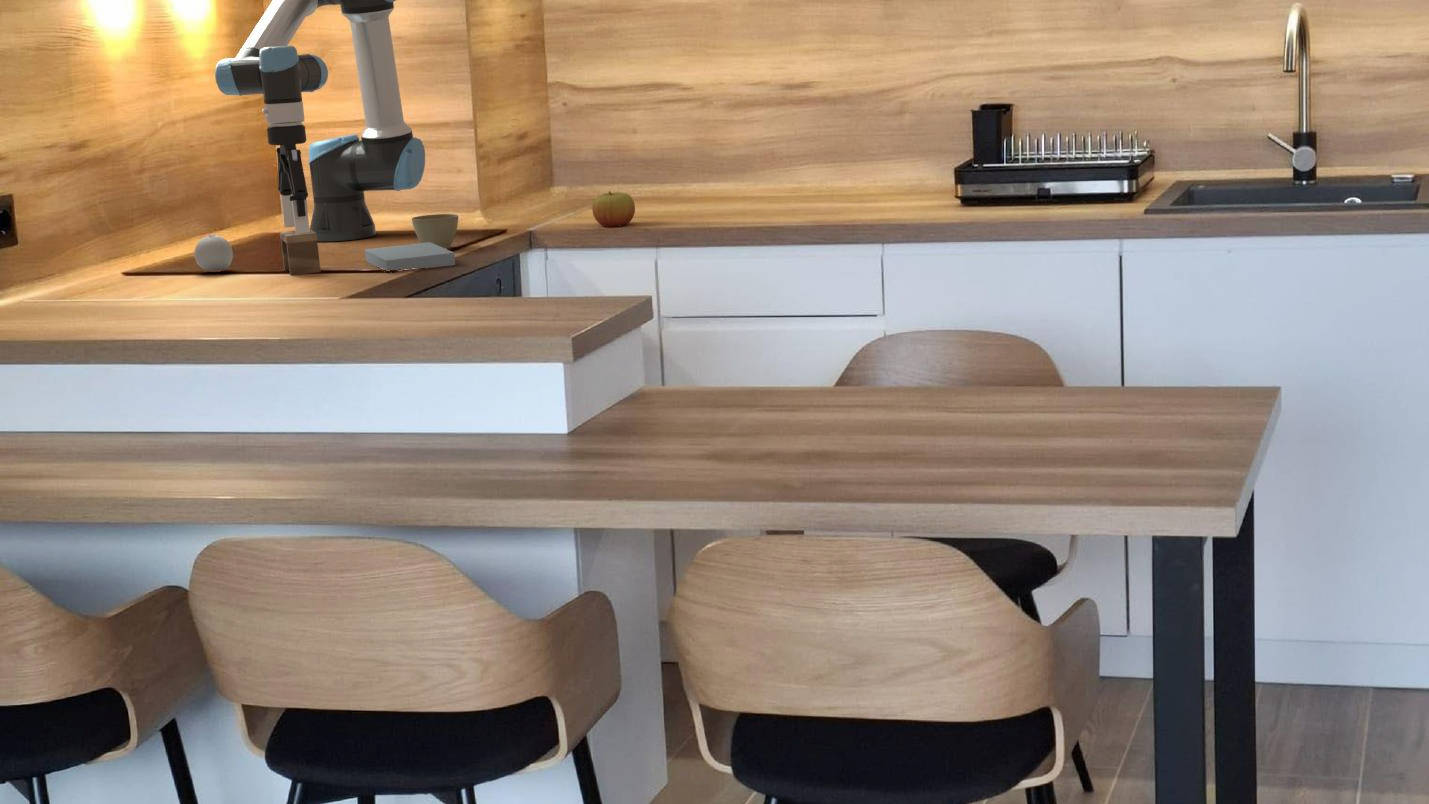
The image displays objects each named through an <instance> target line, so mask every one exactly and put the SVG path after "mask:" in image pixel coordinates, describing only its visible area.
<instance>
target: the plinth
mask: <svg viewBox="0 0 1429 804" xmlns="http://www.w3.org/2000/svg"><path fill="white" fill-rule="evenodd" d="M364 256H365V261H366V263H368V264H369V265H372V266H374V265H375V266H374V267H376V266H377V267H379V268H383V269H385V270H386V271H390V270H399V269H403V270H404V269H412V268H425V269H433V268H441V267H442V268H443V267H449V266H456V257H455V252H454V251H451V250H449V249H445V248H442V247H440V246H438V245H435V244H433V243H431V242H427V243H421V242H419V243H412V244H401V245H394V246H385V247H374V248H365V249H364ZM377 267H376V268H377ZM379 268H378V269H379Z"/></svg>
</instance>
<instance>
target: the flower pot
mask: <svg viewBox="0 0 1429 804" xmlns="http://www.w3.org/2000/svg"><path fill="white" fill-rule="evenodd" d="M411 224H412V226H413V230H414V232H415V234H416V236H417V238H418V240H419V243H427V242H431V243H433V244H435V245H438V246H440V247H442V248H449V249H450V248H451V246H452V244H453V242H454V239H455V237H456V234H457V231H458V230H457V229H458V224H459V214H455V213H437V214H436V213H435V214H425V215H417V216H413V217H411Z"/></svg>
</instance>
